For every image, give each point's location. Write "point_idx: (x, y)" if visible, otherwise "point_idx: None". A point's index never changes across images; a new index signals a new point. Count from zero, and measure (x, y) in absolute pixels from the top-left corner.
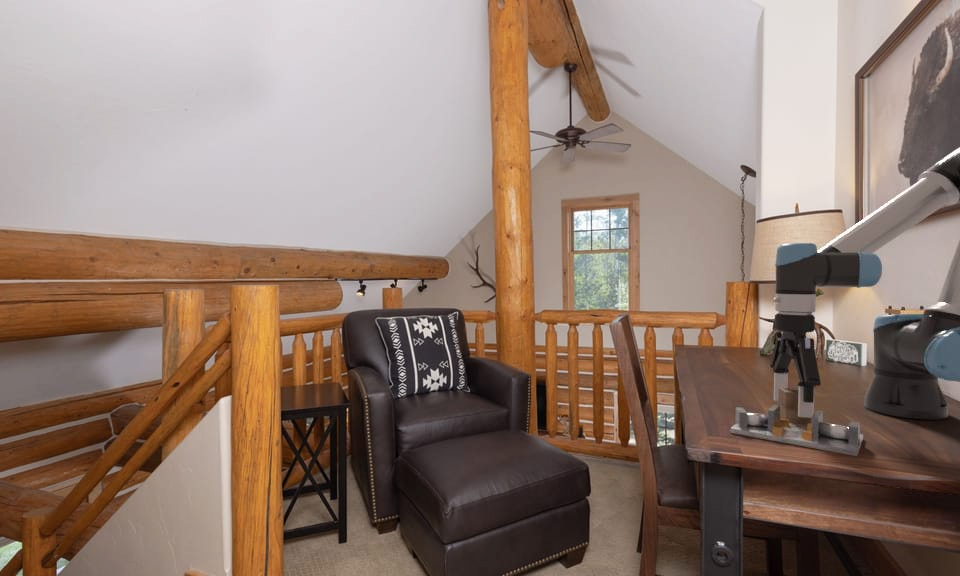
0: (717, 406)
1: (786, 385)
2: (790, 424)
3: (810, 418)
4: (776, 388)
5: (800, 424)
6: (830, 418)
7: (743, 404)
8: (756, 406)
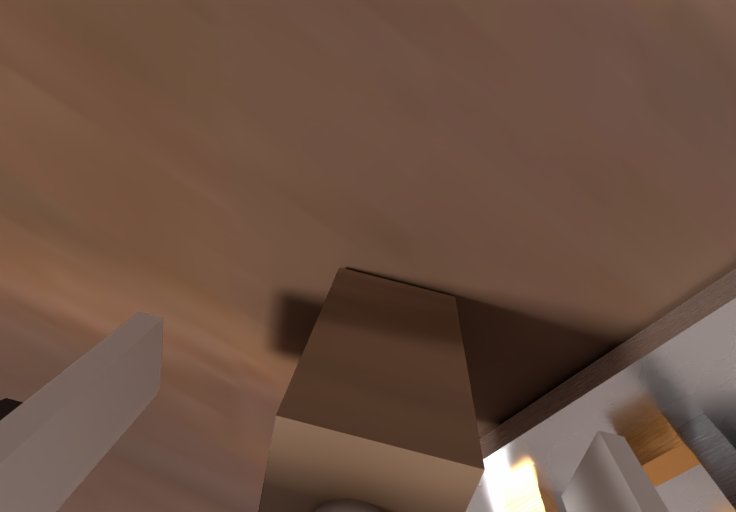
0: (79, 500)
1: (62, 416)
2: (524, 472)
3: (457, 320)
4: (93, 460)
5: (536, 428)
6: (292, 28)
7: (3, 370)
8: (34, 330)
